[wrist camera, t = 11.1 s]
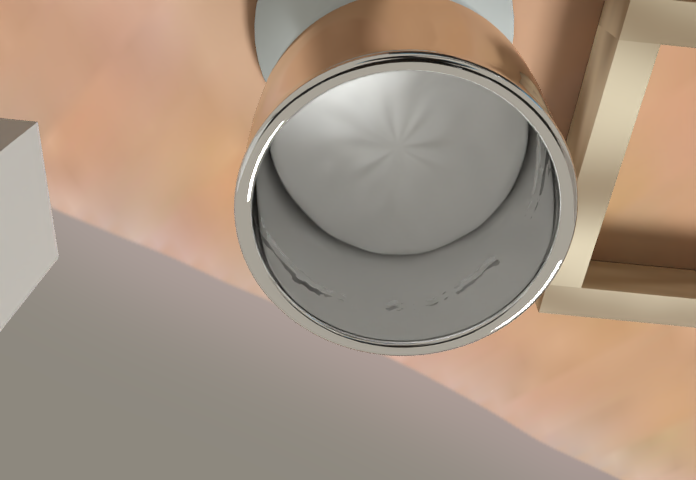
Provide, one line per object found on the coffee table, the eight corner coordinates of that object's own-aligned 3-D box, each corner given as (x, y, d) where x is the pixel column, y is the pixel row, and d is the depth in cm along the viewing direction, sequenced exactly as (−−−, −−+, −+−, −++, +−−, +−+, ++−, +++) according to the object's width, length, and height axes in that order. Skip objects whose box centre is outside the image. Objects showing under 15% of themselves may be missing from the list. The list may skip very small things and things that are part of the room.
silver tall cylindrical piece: (446, -93, 23) (537, -31, 10) (502, 87, 26) (625, 309, 13) (269, -13, 25) (152, 128, 12) (341, 148, 28) (312, 400, 15)
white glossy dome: (260, -122, 24) (257, -122, 23) (538, -92, 24) (541, -91, 23) (253, 141, 29) (252, 146, 28) (483, 164, 29) (485, 169, 28)
